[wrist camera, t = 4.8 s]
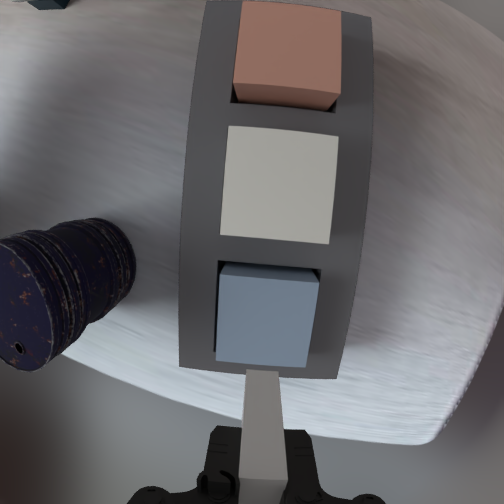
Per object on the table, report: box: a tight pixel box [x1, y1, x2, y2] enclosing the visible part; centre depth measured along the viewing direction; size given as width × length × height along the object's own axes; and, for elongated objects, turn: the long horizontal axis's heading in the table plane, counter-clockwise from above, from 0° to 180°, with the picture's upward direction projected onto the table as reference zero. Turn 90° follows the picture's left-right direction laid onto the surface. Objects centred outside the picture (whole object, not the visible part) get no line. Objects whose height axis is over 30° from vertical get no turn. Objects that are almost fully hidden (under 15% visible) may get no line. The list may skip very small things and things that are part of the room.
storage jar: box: [0, 218, 136, 372], centre depth 23 cm, size 10×10×15 cm
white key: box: [220, 126, 339, 244], centre depth 22 cm, size 7×7×5 cm
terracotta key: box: [233, 1, 341, 111], centre depth 20 cm, size 7×7×5 cm
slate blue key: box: [216, 261, 319, 368], centre depth 25 cm, size 7×7×5 cm
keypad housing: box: [179, 0, 373, 379], centre depth 26 cm, size 14×32×6 cm, turn 175°
